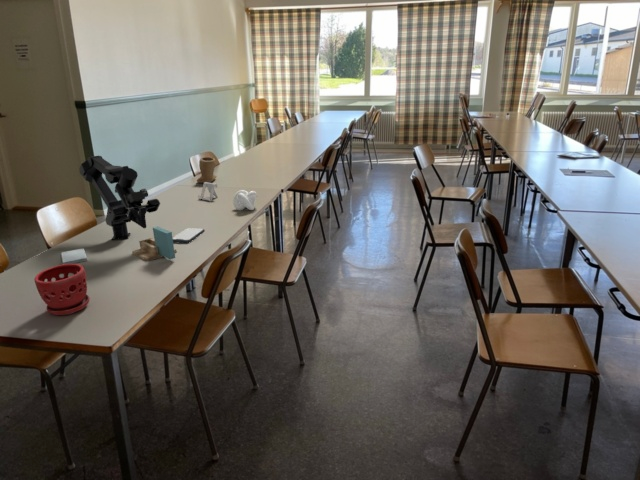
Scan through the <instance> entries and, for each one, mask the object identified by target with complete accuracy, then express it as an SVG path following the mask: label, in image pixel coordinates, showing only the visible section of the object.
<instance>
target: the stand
mask: <svg viewBox="0 0 640 480" xmlns="http://www.w3.org/2000/svg"><path fill="white" fill-rule="evenodd" d="M139 247H140V248H138V249H135V250H131V252H132V253H131V254H132V255H135V256H136V257H138V258H140V259H143V260H144V261H147V262H150V261H152V260H156V259H160V258H163V257H162V255H160V254H159V252H158V247H156V246H155V239H154V237H153V238H152V237H150V238H146V239H143V240H139ZM174 252H175V253H177V252H178V251H177V248H174ZM159 257H160V258H159Z"/></svg>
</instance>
